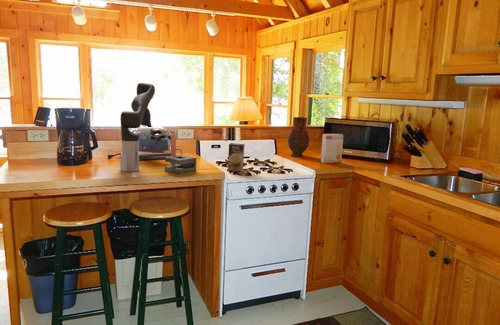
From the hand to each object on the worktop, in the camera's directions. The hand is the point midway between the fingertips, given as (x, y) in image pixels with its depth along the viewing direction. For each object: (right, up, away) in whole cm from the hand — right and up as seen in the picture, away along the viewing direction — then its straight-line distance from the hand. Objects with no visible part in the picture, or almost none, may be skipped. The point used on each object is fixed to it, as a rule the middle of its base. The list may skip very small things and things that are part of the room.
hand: (165, 138), depth 236 cm
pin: (+6, -17, -6) cm, 19 cm away
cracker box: (+111, -16, +34) cm, 118 cm away
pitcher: (+90, -10, +58) cm, 107 cm away
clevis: (+12, -20, -18) cm, 30 cm away
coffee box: (+44, -20, -7) cm, 49 cm away
